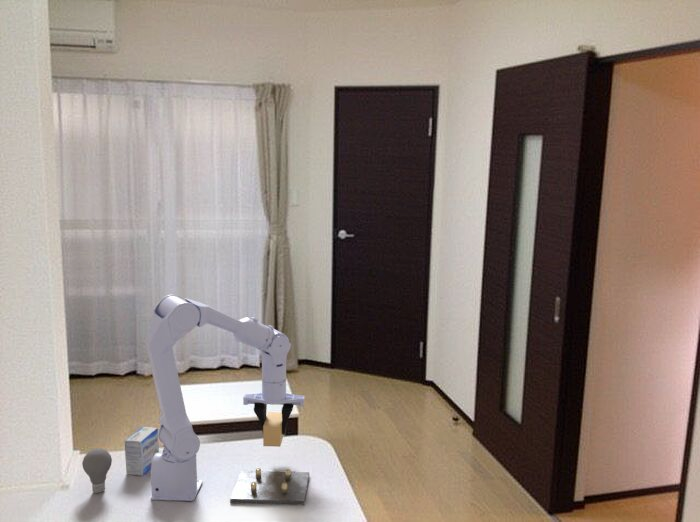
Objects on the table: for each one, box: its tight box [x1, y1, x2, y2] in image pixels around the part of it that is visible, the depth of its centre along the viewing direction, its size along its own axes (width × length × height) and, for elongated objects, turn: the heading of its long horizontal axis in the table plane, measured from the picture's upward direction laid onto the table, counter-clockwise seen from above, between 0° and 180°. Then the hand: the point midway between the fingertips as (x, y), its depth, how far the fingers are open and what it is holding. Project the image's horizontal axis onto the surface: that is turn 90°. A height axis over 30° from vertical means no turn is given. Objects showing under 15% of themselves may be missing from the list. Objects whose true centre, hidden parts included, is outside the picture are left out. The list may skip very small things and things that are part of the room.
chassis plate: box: [229, 467, 310, 506], centre depth 140 cm, size 16×12×3 cm
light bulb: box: [81, 447, 113, 494], centre depth 137 cm, size 6×6×10 cm
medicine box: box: [124, 426, 160, 477], centre depth 148 cm, size 8×4×9 cm, turn 168°
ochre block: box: [262, 411, 285, 448], centre depth 150 cm, size 4×8×5 cm, turn 179°
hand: (274, 432), depth 151 cm, fingers closed on ochre block, 4 cm apart
